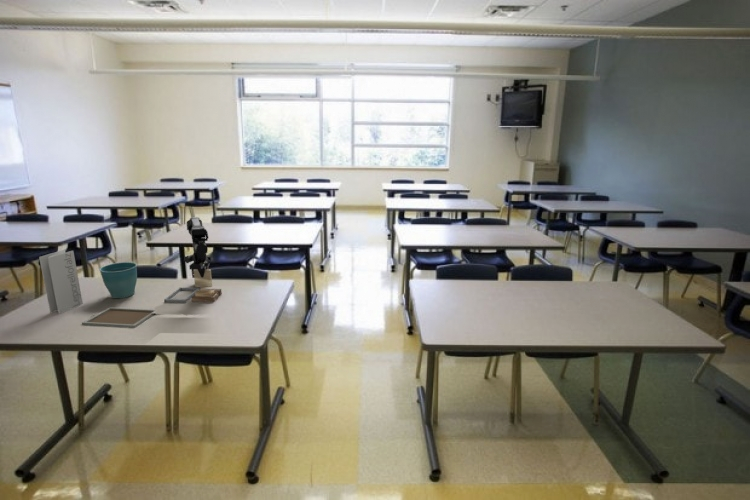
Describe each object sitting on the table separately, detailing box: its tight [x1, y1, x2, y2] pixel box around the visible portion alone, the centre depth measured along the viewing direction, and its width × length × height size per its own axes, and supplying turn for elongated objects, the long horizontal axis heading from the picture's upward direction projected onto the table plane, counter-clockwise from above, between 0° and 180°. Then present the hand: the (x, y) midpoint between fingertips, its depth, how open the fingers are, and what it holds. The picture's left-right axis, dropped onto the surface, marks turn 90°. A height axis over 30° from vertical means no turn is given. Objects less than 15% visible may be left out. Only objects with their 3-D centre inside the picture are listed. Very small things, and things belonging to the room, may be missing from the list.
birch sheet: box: [193, 268, 213, 288], centre depth 237 cm, size 2×9×10 cm, turn 91°
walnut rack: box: [191, 288, 222, 303], centre depth 238 cm, size 12×12×4 cm
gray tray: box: [163, 286, 201, 303], centre depth 240 cm, size 19×12×3 cm, turn 0°
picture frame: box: [81, 307, 157, 328], centre depth 214 cm, size 19×2×30 cm
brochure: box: [38, 249, 83, 315], centre depth 221 cm, size 14×6×30 cm, turn 168°
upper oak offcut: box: [195, 290, 215, 297], centre depth 234 cm, size 4×9×2 cm, turn 90°
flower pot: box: [99, 261, 138, 299], centre depth 242 cm, size 18×18×17 cm
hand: (202, 276), depth 237 cm, fingers closed on birch sheet, 1 cm apart
